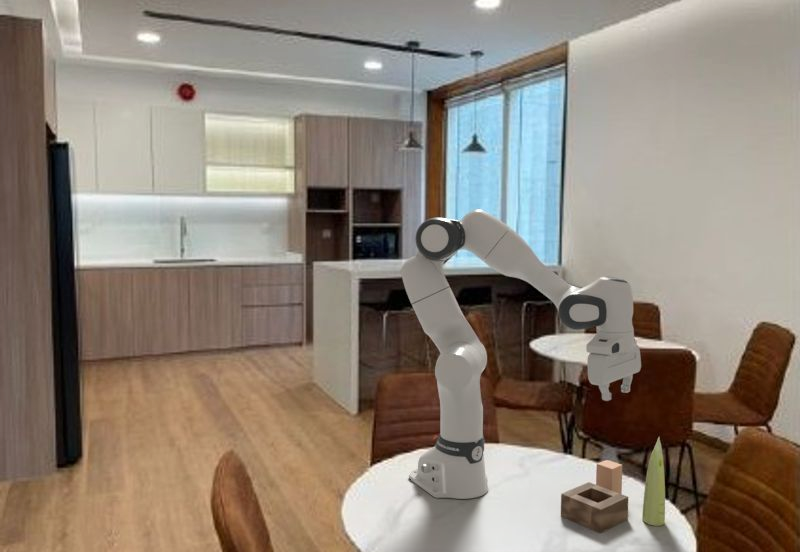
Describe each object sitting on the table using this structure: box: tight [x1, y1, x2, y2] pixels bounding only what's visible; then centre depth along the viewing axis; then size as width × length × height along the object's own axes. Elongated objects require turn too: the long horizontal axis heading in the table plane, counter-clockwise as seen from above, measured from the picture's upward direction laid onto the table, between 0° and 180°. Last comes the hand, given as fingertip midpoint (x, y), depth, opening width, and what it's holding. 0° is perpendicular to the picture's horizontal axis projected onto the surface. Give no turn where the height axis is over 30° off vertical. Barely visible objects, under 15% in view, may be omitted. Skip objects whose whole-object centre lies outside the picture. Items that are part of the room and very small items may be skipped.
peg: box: [595, 459, 623, 495], centre depth 166 cm, size 4×4×9 cm
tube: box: [641, 437, 666, 527], centre depth 153 cm, size 6×5×20 cm
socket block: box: [560, 482, 629, 534], centre depth 156 cm, size 11×11×6 cm
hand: (616, 396), depth 164 cm, fingers open, 8 cm apart
